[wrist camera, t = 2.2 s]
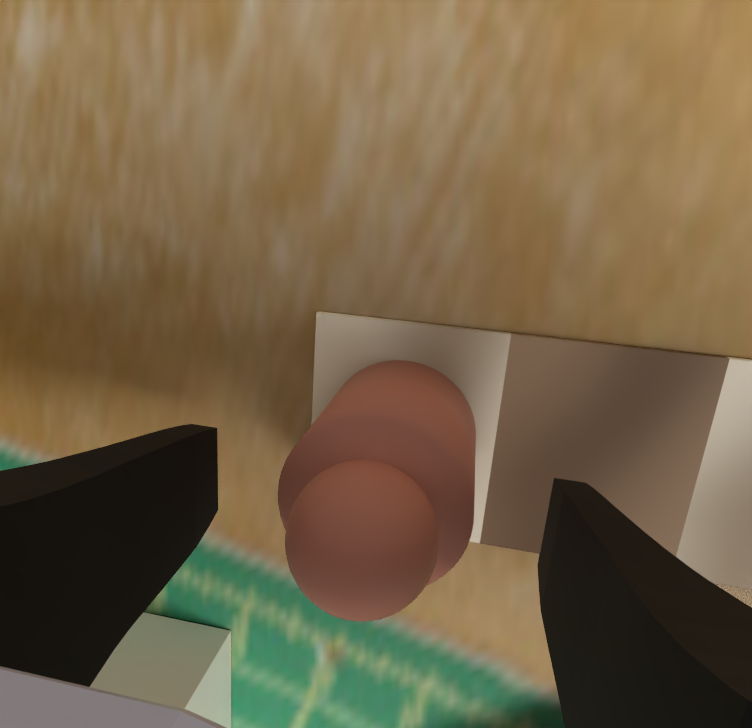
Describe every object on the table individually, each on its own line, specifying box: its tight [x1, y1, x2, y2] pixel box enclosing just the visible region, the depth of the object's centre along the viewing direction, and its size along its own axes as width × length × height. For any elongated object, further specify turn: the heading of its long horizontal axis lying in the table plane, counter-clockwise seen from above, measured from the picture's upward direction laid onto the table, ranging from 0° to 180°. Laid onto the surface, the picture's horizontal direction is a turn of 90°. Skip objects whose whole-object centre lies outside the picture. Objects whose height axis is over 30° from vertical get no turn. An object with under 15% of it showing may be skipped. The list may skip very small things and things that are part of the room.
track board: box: [311, 311, 752, 590], centre depth 14 cm, size 20×6×1 cm, turn 86°
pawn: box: [278, 360, 476, 621], centre depth 12 cm, size 4×4×6 cm
